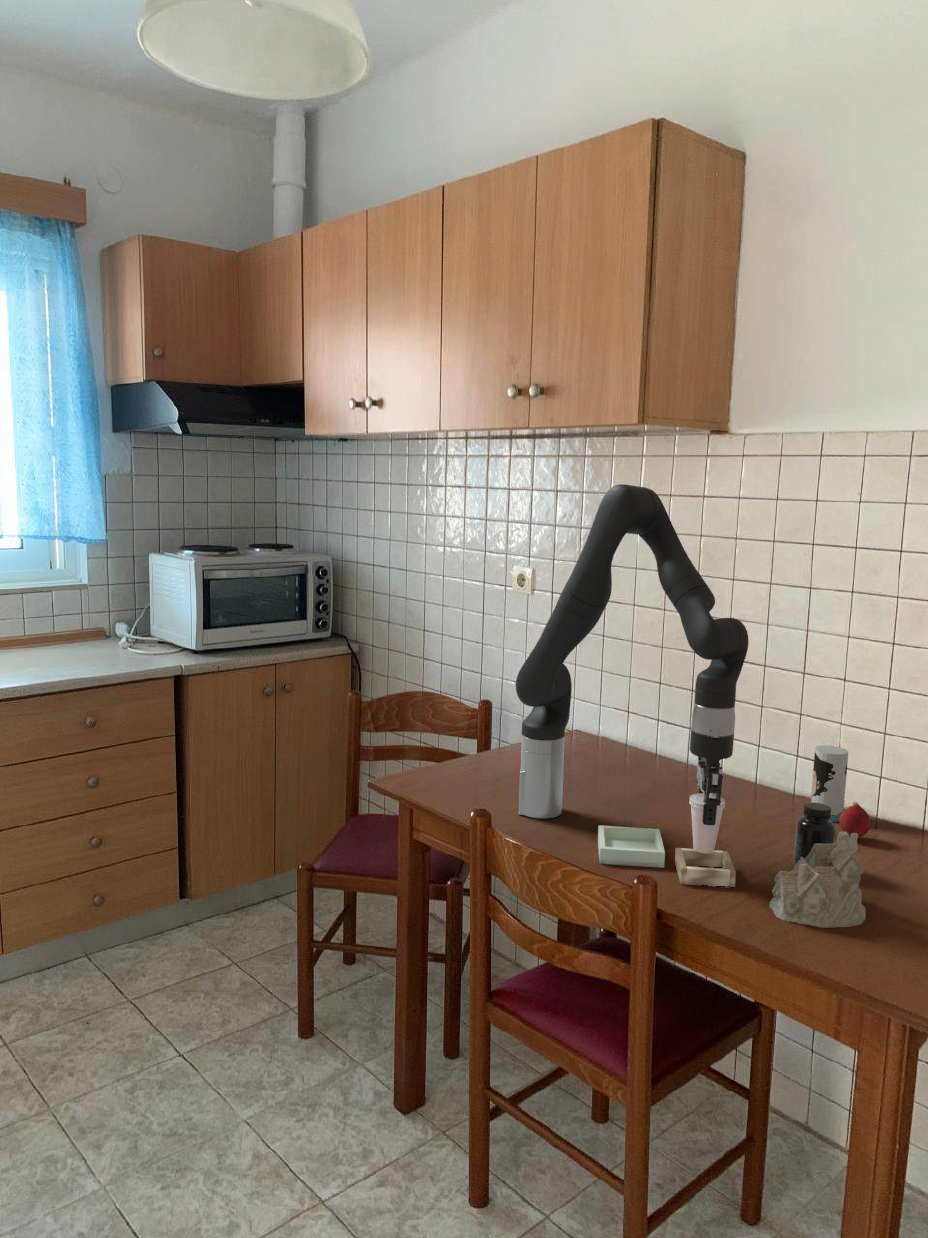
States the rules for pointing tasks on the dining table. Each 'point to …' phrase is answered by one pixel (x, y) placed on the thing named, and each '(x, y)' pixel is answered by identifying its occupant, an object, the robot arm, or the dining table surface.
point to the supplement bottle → (813, 829)
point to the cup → (830, 778)
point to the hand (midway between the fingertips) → (706, 817)
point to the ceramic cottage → (822, 887)
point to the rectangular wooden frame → (704, 874)
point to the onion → (855, 820)
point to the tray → (630, 846)
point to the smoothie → (704, 833)
